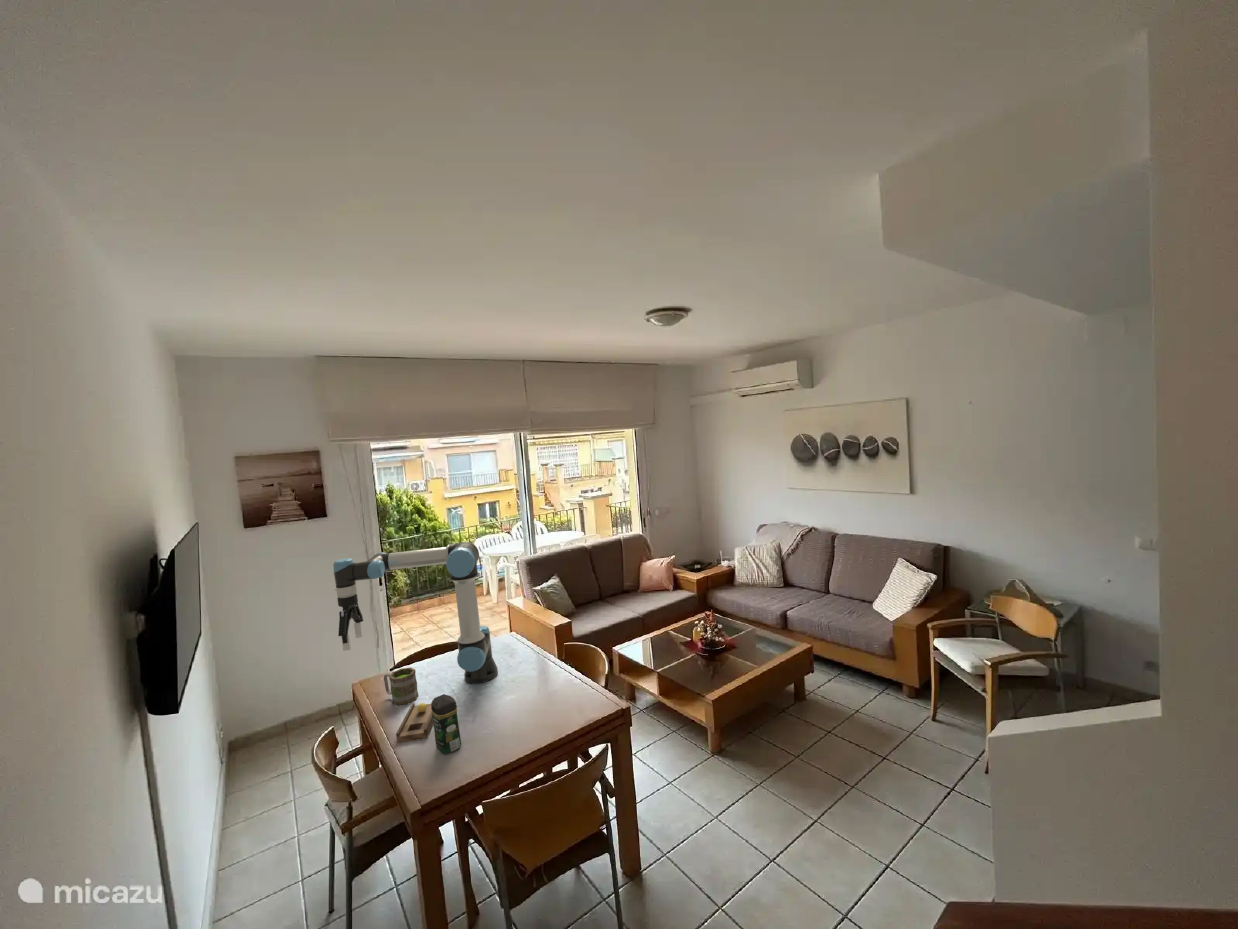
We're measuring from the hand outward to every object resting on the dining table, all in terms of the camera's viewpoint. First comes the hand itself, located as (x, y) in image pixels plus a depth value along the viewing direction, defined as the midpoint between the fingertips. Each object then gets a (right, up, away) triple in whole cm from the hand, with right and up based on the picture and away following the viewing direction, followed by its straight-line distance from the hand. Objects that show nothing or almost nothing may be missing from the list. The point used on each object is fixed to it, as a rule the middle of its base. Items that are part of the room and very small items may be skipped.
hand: (353, 643), depth 225 cm
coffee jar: (+52, -26, -34) cm, 68 cm away
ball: (+34, -22, -12) cm, 42 cm away
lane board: (+35, -26, -17) cm, 47 cm away
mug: (+18, -26, +5) cm, 33 cm away
